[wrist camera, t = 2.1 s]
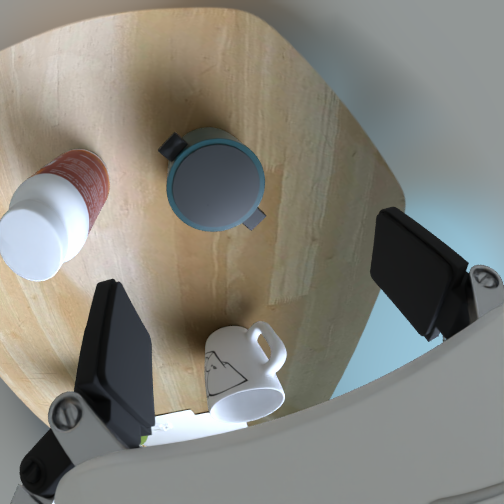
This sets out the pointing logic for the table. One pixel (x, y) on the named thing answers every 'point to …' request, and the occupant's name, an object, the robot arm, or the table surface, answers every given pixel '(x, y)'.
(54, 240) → the pill bottle
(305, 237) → the table surface
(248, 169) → the pot
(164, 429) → the paper
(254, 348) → the mug
